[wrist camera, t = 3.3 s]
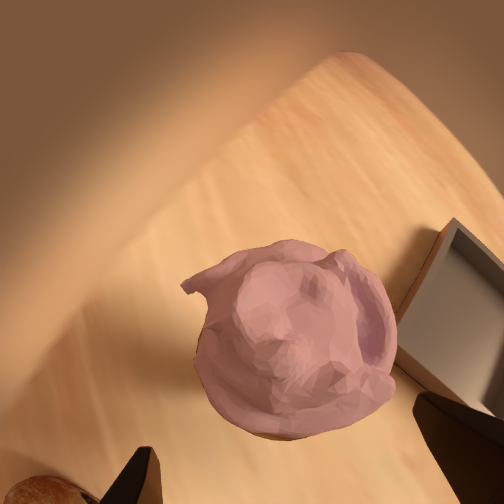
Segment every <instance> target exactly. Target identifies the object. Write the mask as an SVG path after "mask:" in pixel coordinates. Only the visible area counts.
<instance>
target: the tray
mask: <svg viewBox="0 0 504 504" xmlns="http://www.w3.org/2000/svg"><path fill="white" fill-rule="evenodd" d="M395 321H396V327H397V351H396V355H395V359H394V362H393V363H395V364H396V365H397V366H398V367H399V368H401V369H402V370H403V371H404V372H405V373H407V374H408V375H409V376H410V377H411V378H413V379H414V380H415V381H416V382H417V383H419V384H420V385H421V386H422V387H423V388H425V389H426V390H429V391H432V392H434V393H436V394H439V395H441V396H444V397H446V398H448V399H451V400H453V401H456V402H458V403H461V404H463V405H466V406H468V407H471V408H473V409H476V410H479V411H481V412H484V413H486V414H489V415H492V416H494V417H497V418H500V419H502V420H504V264H503V263H502V262H501V261H500V260H499V259H498V258H497V257H496V256H495V255H494V254H493V253H492V252H491V251H490V250H489V249H488V248H487V247H486V246H485V245H484V244H483V243H482V242H481V241H480V240H479V239H477V238H476V237H475V236H474V235H473V234H472V233H471V232H470V231H469V230H468V229H467V228H465V227H464V226H463V225H462V224H461V223H460V222H459V221H458V220H456V219H455V218H454V217H453V218H452V219H451V221H450V222H449V223H448V224H447V225H446V226H445V227H444V228H443V229H442V231H441V232H440V234H439V236H438V238H437V240H436V242H435V244H434V246H433V248H432V250H431V252H430V254H429V256H428V258H427V260H426V261H425V263H424V265H423V267H422V269H421V271H420V273H419V274H418V276H417V278H416V280H415V282H414V283H413V285H412V287H411V289H410V290H409V292H408V294H407V296H406V297H405V299H404V301H403V302H402V304H401V306H400V307H399V309H398V311H397V312H396V314H395Z"/></svg>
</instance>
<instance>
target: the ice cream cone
mask: <svg viewBox="0 0 504 504" xmlns="http://www.w3.org/2000/svg"><path fill="white" fill-rule="evenodd" d="M180 286H181V287H182V288H183V290H184V291H185V292H186V293H187V294H188V295H189V294H191V293H194V292H195V291H197V292H199V293H201V294H202V295H203V296H204V297H205V298H206V300H207V304H208V311H207V314H206V319H205V323H204V326H203V328H202V331H201V333H200V336H199V339H198V345H197V351H196V356H195V358H194V367H195V369H196V371H197V373H198V375H199V378H200V380H201V382H202V385H203V387H204V389H205V391H206V394H207V397H208V399H209V401H210V403H211V405H212V406H213V407H214V408H215V410H216V411H217V412H218V413H219V414H220V415H221V416H222V417H223V418H224V419H225V420H227V421H228V422H230V423H232V424H233V425H235V426H237V427H239V428H242V429H244V430H245V431H247V432H249V433H251V434H253V435H256V436H259V437H262V438H266V439H269V440H278V441H292V440H297V439H302V438H307V437H309V436H314V435H317V434H320V433H323V432H327V431H331V430H335V429H340V428H344V427H347V426H350V425H352V424H354V423H356V422H357V421H359V420H361V419H363V418H365V417H366V416H368V415H370V414H372V413H373V412H375V411H377V410H378V409H379V408H380V407H381V406H382V405H383V404H384V403H385V402H386V401H388V400H389V399H390V398H391V397H392V395H393V394H394V393H395V390H396V384H395V380H394V379H393V378H392V377H391V376H389V374H390V372H391V369H392V366H393V362H394V359H395V355H396V351H397V327H396V321H395V315H394V312H393V310H392V306H391V303H390V300H389V298H388V295H387V293H386V291H385V288H384V286H383V284H382V282H381V280H380V279H379V278H378V276H377V275H376V274H375V273H373V272H371V271H369V270H368V269H366V268H364V267H362V266H361V265H360V264H359V263H358V261H357V260H356V259H355V258H354V256H353V255H352V254H350V253H349V252H348V251H347V250H344V249H340V250H338V251H335V252H332V253H330V254H329V253H327V252H326V251H325V250H324V249H322V248H320V247H317V246H315V245H312V244H309V243H306V242H303V241H299V240H293V239H291V240H281V241H278V242H275V243H273V244H271V245H269V246H266V247H260V248H254V249H248V250H243V251H239V252H236V253H234V254H232V255H230V256H229V257H227V258H225V259H224V260H223V261H222V262H221V263H219V264H217V265H215V266H213V267H211V268H208V269H206V270H204V271H202V272H200V273H198V274H196V275H194V276H192V277H191V278H189V279H186V280H185V281H184V282H183V283H182V284H181V285H180Z"/></svg>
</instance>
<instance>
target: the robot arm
mask: <svg viewBox="0 0 504 504" xmlns="http://www.w3.org/2000/svg"><path fill="white" fill-rule="evenodd" d="M413 416H414V418H415V420H416V422H417V424H418V427H419V429H420V431H421V433H422V435H423V438H424V440H425V442H426V444H427V446H428V448H429V450H430V451H431V453H432V455H433V456H434V458H435V460H436V462H437V463H438V465H439V467H440V468H441V470H442V472H443V474H444V475H445V477H446V479H447V480H448V482H449V484H450V486H451V487H452V489H453V491H454V493H455V495H456V496H457V498H458V500H459V502H460V504H504V420H502V419H500V418H497V417H494V416H492V415H489V414H486V413H484V412H481V411H479V410H476V409H473V408H471V407H468V406H466V405H463V404H461V403H458V402H456V401H453V400H451V399H448V398H446V397H444V396H441V395H439V394H436V393H434V392H432V391H429V390H427V391H424V392H421V393H419V394H418V395H417V398H416V401H415V404H414V406H413ZM99 504H163V498H162V486H161V472H160V463H159V460H158V458H157V456H156V454H155V451H154V449H153V448H152V447H150V446H141V447H139V448H138V449H137V450H136V452H135V453H134V455H133V456H132V457H131V459H130V460H129V462H128V463H127V464H126V466H125V467H124V469H123V470H122V471H121V473H120V474H119V476H118V477H117V478H116V480H115V481H114V483H113V484H112V485H111V487H110V488H109V490H108V491H107V492H106V494H105V495H104V497H103V498H102V499H101V501H100V502H99Z"/></svg>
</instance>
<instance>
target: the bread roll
mask: <svg viewBox="0 0 504 504" xmlns="http://www.w3.org/2000/svg"><path fill="white" fill-rule="evenodd" d="M99 502H100V501H99V500H98V499H96V498H95V497H93V496H92V495H90V494H89V493H87V492H86V491H84V490H82V489H79V488H78V487H77V486H76V485H75V484H72V483H70V482H68V481H66V480H64V479H61V478H59V477H54V476H34V477H31V478H28V479H26V480H24V481H22V482H19V483H18V484H16V485H15V486H13V487H12V488H11V489H10V491H9V492H8V494H7V496H6V497H5V501H4V504H99Z"/></svg>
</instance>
